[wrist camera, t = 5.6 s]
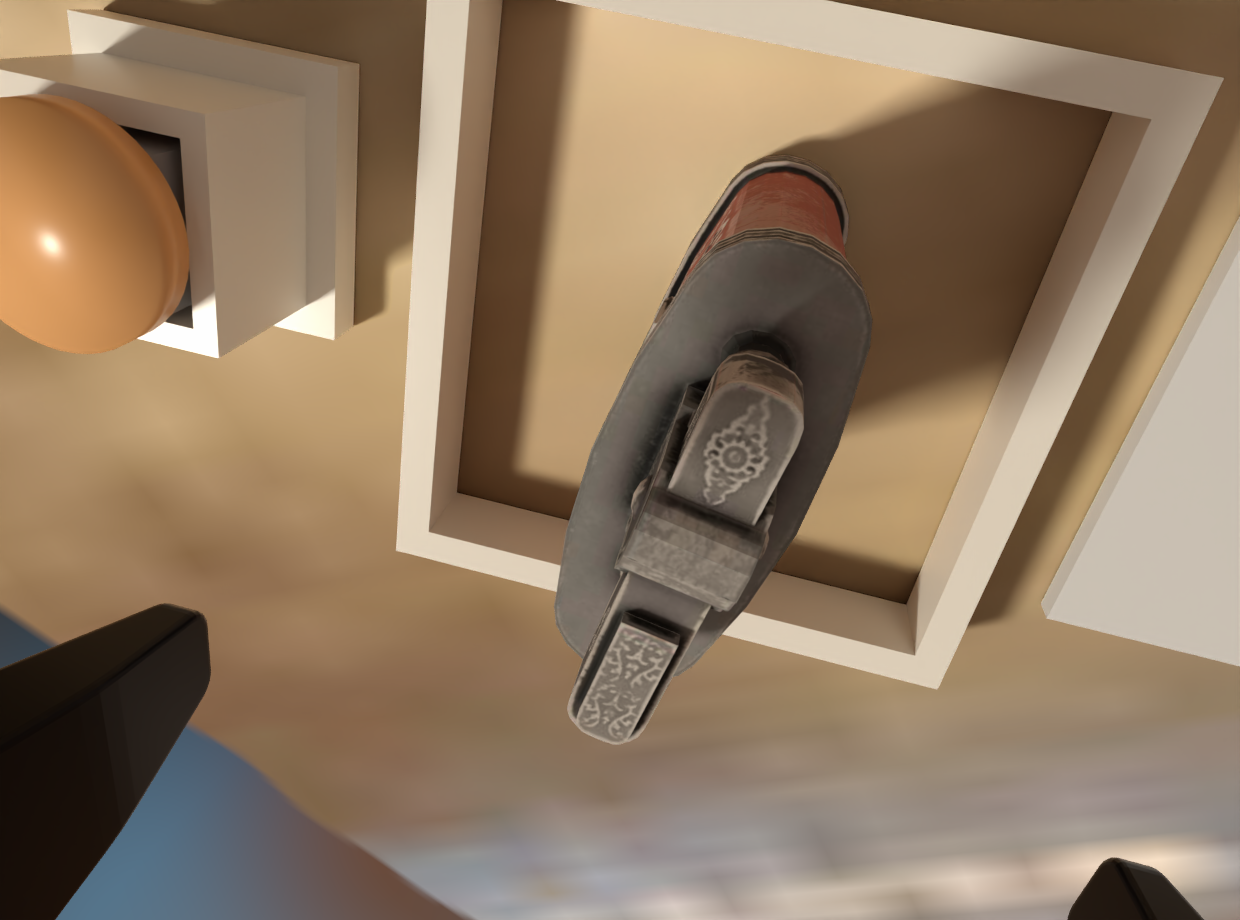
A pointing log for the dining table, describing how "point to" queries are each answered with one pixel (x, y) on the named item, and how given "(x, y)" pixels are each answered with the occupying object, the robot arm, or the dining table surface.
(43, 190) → the plunger
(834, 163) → the dining table surface
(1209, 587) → the mat
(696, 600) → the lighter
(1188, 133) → the holder
